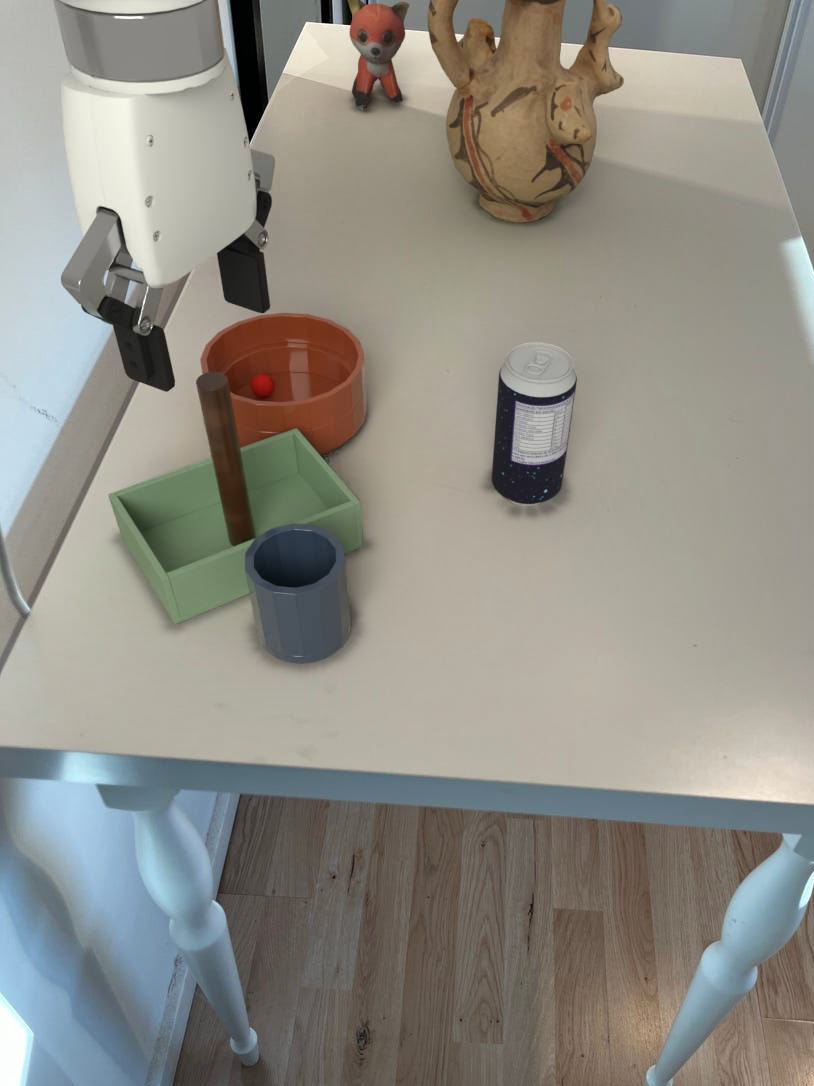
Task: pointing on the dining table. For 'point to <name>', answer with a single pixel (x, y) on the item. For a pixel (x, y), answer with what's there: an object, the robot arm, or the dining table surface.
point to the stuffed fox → (376, 47)
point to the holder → (299, 592)
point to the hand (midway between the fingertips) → (201, 342)
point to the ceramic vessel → (523, 102)
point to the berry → (262, 385)
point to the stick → (226, 455)
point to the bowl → (292, 377)
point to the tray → (199, 526)
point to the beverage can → (533, 422)
